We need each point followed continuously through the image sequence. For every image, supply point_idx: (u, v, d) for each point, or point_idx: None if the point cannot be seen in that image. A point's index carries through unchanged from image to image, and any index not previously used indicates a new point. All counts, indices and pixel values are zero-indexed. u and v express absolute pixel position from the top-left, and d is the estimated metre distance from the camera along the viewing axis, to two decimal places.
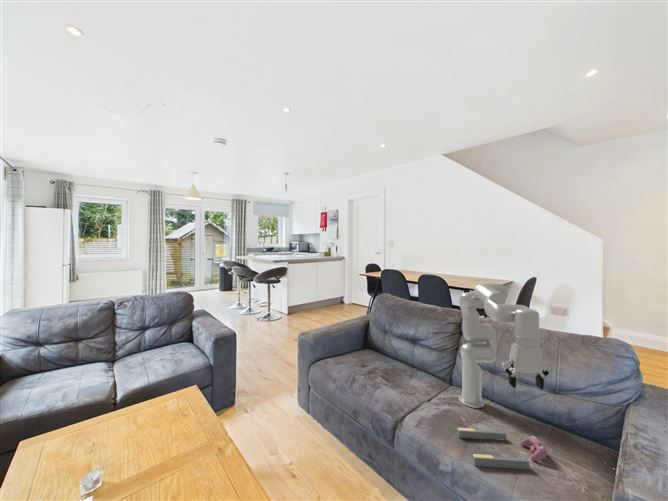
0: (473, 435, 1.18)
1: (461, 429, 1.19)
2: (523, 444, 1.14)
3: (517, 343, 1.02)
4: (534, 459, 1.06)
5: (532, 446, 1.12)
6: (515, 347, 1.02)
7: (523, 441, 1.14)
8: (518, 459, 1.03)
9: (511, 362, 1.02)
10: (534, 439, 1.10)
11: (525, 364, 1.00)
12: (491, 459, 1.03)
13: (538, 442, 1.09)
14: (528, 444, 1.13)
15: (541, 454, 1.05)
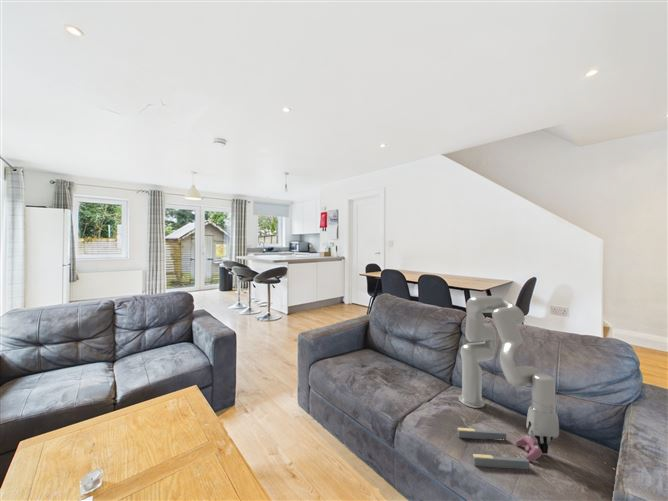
0: (473, 435, 1.18)
1: (461, 429, 1.19)
2: (518, 444, 1.14)
3: (534, 407, 1.09)
4: (529, 458, 1.06)
5: (527, 446, 1.12)
6: (532, 411, 1.09)
7: (518, 441, 1.14)
8: (518, 459, 1.03)
9: None
10: (529, 439, 1.11)
11: (543, 428, 1.07)
12: (491, 459, 1.03)
13: (533, 442, 1.09)
14: (523, 444, 1.13)
15: (536, 454, 1.05)
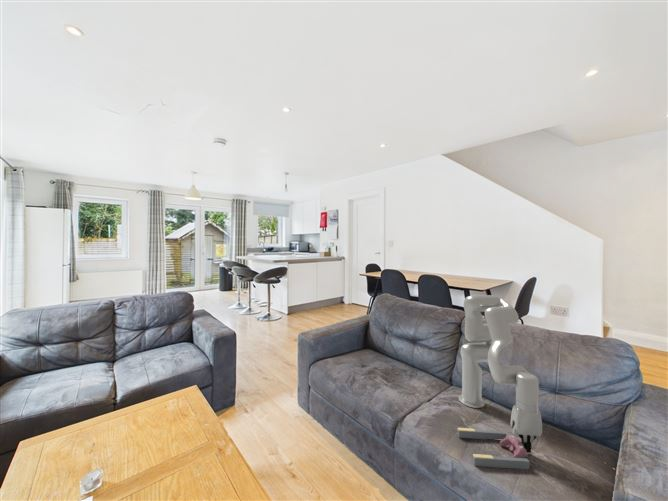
0: (473, 435, 1.18)
1: (461, 429, 1.19)
2: (502, 444, 1.13)
3: (518, 406, 1.09)
4: None
5: (511, 446, 1.11)
6: (516, 410, 1.10)
7: (502, 441, 1.14)
8: (518, 459, 1.03)
9: None
10: (513, 439, 1.10)
11: (526, 427, 1.08)
12: (491, 459, 1.03)
13: (517, 441, 1.09)
14: (507, 444, 1.13)
15: (522, 454, 1.05)
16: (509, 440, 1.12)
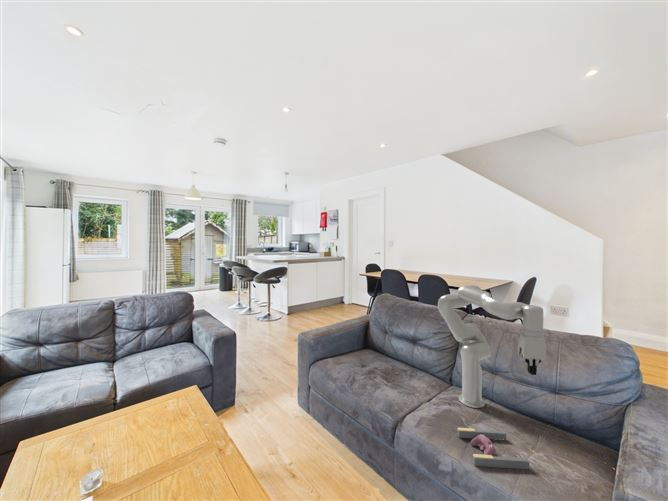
0: (473, 435, 1.18)
1: (461, 429, 1.19)
2: (473, 444, 1.14)
3: (525, 334, 1.22)
4: None
5: (481, 445, 1.12)
6: (523, 337, 1.22)
7: (473, 440, 1.14)
8: (518, 459, 1.03)
9: None
10: (483, 438, 1.11)
11: (532, 351, 1.20)
12: (491, 459, 1.03)
13: (487, 440, 1.09)
14: (477, 443, 1.13)
15: (491, 453, 1.05)
16: (480, 439, 1.12)
